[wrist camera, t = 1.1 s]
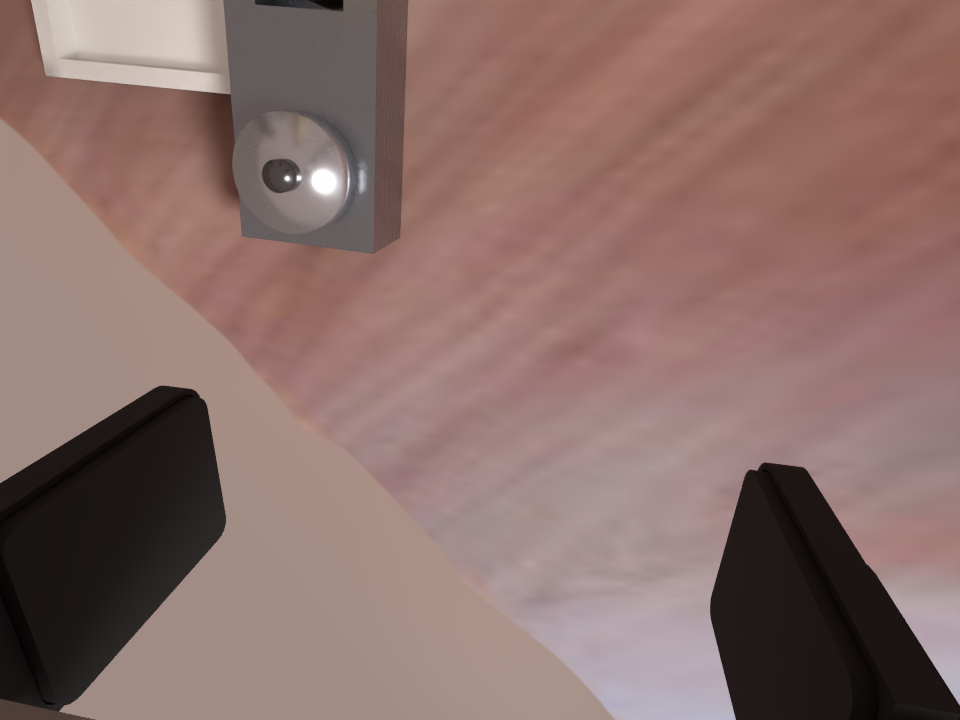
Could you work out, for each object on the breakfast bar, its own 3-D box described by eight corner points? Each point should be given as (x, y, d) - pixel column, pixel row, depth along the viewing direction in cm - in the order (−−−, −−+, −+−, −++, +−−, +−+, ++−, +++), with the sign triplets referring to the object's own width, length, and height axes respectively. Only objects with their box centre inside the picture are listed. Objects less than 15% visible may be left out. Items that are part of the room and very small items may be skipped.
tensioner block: (267, -117, 30) (165, -195, 23) (411, -110, 29) (353, -188, 22) (283, 222, 37) (210, 246, 30) (400, 237, 36) (353, 265, 29)
